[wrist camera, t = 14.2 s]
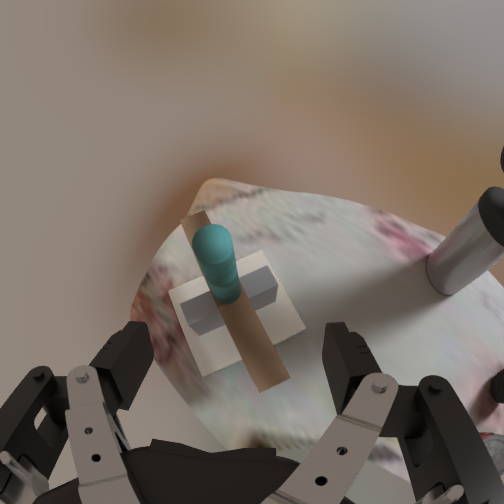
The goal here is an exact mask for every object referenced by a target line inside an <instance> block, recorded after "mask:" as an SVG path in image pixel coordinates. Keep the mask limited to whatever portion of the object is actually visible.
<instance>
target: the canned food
mask: <svg viewBox="0 0 504 504" xmlns="http://www.w3.org/2000/svg"><path fill="white" fill-rule="evenodd" d="M479 434H480V436H481V438H482V440H483V442H484V444H485V446H486V448H487V450H488V452H489V454H490V456H491V458H492V460H493V462H494V464H495V466H496V468H497V471H498V473H499V475H500V476H501V475H502V474H503V473H504V436H503V435H500V434H494V433H492V432H490V433H482V432H481V433H479Z"/></svg>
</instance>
